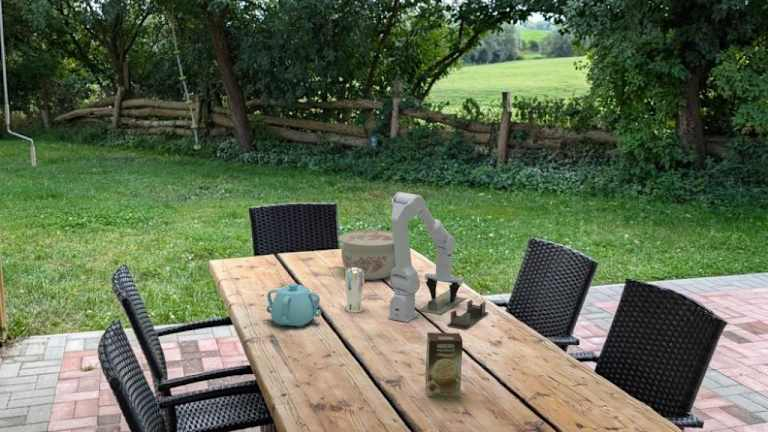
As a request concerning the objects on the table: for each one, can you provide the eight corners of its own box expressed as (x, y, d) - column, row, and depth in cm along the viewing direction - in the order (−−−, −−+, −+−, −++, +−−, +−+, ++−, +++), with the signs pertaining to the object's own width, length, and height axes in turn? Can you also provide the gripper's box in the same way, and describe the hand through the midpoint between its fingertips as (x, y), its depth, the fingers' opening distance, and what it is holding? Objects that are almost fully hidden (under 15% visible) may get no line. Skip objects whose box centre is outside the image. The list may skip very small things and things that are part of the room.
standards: (465, 330, 255) (466, 317, 255) (447, 326, 259) (447, 313, 258) (488, 313, 272) (488, 301, 272) (470, 310, 276) (470, 298, 275)
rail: (435, 311, 274) (436, 303, 273) (428, 309, 275) (428, 301, 274) (456, 298, 289) (456, 290, 288) (448, 297, 290) (449, 289, 290)
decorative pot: (324, 326, 258) (324, 287, 256) (279, 332, 251) (278, 293, 249) (307, 312, 273) (307, 275, 270) (264, 318, 266) (263, 280, 263)
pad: (441, 315, 271) (441, 314, 271) (418, 310, 275) (418, 309, 275) (465, 299, 290) (465, 298, 289) (444, 295, 294) (444, 294, 294)
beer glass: (365, 307, 279) (365, 267, 276) (362, 313, 272) (362, 272, 269) (346, 306, 279) (346, 267, 276) (343, 312, 272) (343, 272, 270)
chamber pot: (328, 271, 327) (328, 224, 323) (385, 265, 338) (386, 219, 334) (353, 288, 302) (353, 237, 298) (414, 281, 313) (415, 232, 309)
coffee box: (426, 397, 203) (428, 340, 200) (424, 387, 210) (426, 332, 206) (461, 397, 204) (462, 340, 200) (458, 387, 210) (459, 332, 207)
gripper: (466, 265, 279) (465, 300, 282) (430, 260, 286) (430, 294, 289) (458, 269, 273) (457, 305, 276) (422, 264, 280) (421, 299, 283)
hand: (442, 300), depth 282 cm, fingers open, 7 cm apart
